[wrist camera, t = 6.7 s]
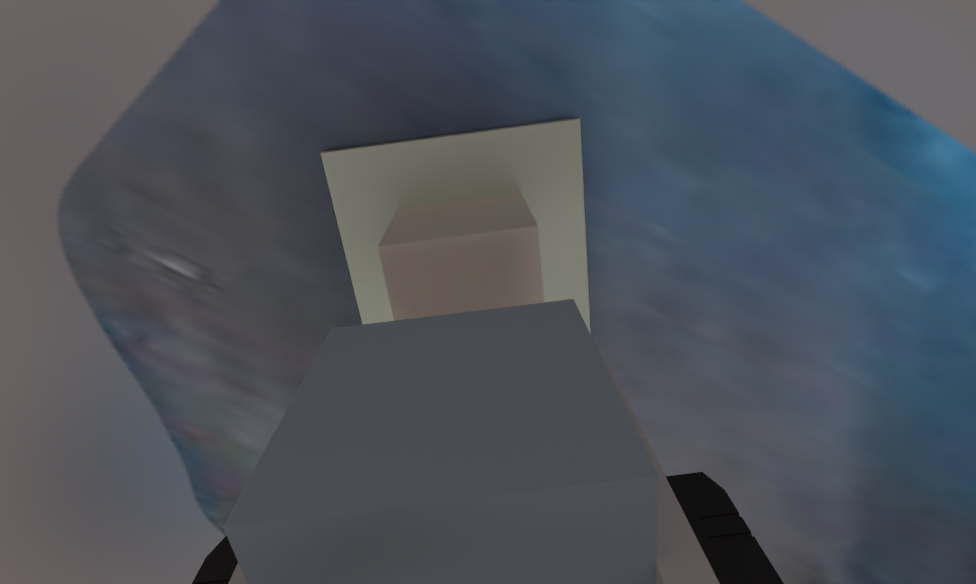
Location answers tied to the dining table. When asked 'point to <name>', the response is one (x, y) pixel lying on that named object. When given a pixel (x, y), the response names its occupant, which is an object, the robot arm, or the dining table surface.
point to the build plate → (464, 198)
